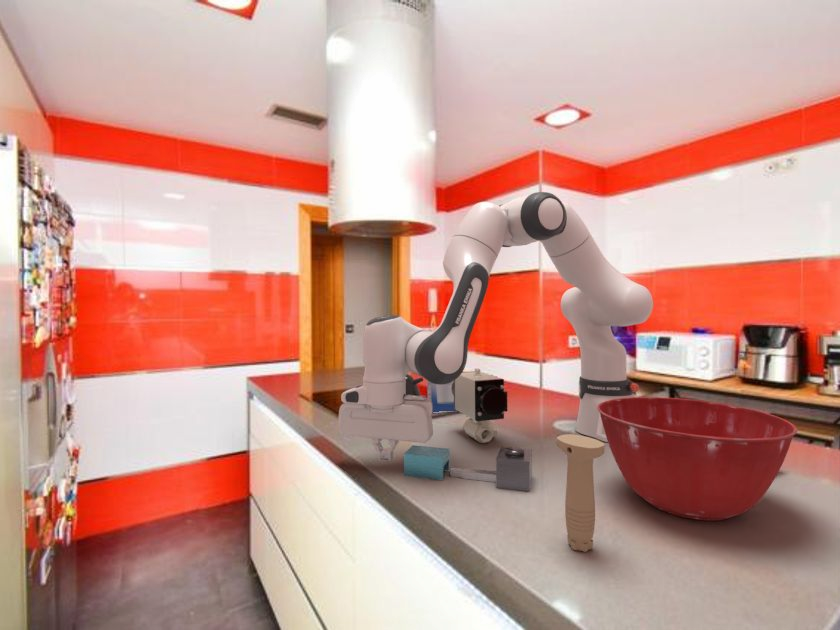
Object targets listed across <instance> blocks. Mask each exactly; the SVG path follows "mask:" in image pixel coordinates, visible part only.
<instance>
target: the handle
mask: <svg viewBox="0 0 840 630" xmlns="http://www.w3.org/2000/svg"><path fill="white" fill-rule="evenodd" d="M556 446H557V448H558V449H559V450H560V451H561V452H563V453H564V454H565V455H566V457H567V467H566V469H567V470H566V487H565V499H564V501H565V502H564V504H565V505H564V508H565V509H564V510H565V513H564V514H565V516H564V517H565V525H566V526H565V527H566V532H567V534H566V538H567V543H568V545H570V547H571V549H572V550H573V551H580V552H584V553H586V552H588V551H589V550H592V549H593V546H594V539H593V538H594V534H595V527H596V526H595V524H596V501H595V499H596V498H595V482H594V459H598V458H600V457H601V456H603V455H604V454H605V443H604V442H603V441H601V440H599V439H597V438H594V437H590V436H586V435H585V436H584V435H579V434H572V433H569V434H561V435H559V436H557V437H556Z"/></svg>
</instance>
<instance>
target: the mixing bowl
mask: <svg viewBox="0 0 840 630" xmlns="http://www.w3.org/2000/svg"><path fill="white" fill-rule="evenodd" d="M597 409H598V411H599V412H600V415H601V420H602V424H603V427H604V430H605V434H606V437H607V440H608V442H607V443H608V446H609V448H610V451H611V454H612V456H613V458H614V460H615V462H616V465H617V467H618V469H619V471H620V472H621V474H622V477H623V478H624V480H625V481H626V483H627V484H628V485H629V487H630V488H631V489H632V491H634V492H635V493H636V494H637V495H638V496H639V497H641V498H642V499H644V501H646V503H648V504H649V505H651V506H653V507H654V508H656V509H658V510H661V511H663V512H666V513H669V514H670V515H671V514H672V515H675V516H678V517H681V518H686V519H693V520H700V521H723V520H727V519H730V518H732V517H735V516H739V515H742V514H744V513H746V512H748V511H749V510H751V509H752V508H753V507H755V506H756V505H757V504H758V503H759V501H760V500H761V499H762V498H763V497H764V495H765V494H766V493H767V491H768V490H769V489H770V487H771V486H772V484H773V482H774V481H775V480H776V478H777V475H779V473H780V472H779V471H780V470H781V467H782V466H783V464H784V462H785V459H786V457H787V454H788V451H789V448H790V447H791V444H792V443H791V442H792V440H793V437H794V436H795V435H797V433H798V428H797V427H796V425H795V424H794V423H792V422H790V421H789V420H786V419H784V418H782V417H779V416H777V415H773V414H770V413H767V412H764V411H760V410H756V409H752V408H748V407H743V406H738V405H734V404H727V403H721V402H714V401H706V400H700V399H699V400H698V399H688V398H679V397H678V398H677V397H659V396H657V397H656V396H655V397H654V396H642V397H641V396H638V397H629V398H618V399H612V400H607V401H604V402H601V403H600V404H599V405H598V406H597Z"/></svg>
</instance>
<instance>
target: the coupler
mask: <svg viewBox="0 0 840 630" xmlns="http://www.w3.org/2000/svg"><path fill="white" fill-rule="evenodd" d="M495 461H496V462H495V464H496V465H495V468H496V469H495V470H486V469H479V468H478V469H477V468H468V467H467V468H466V467H465V468H461V467H460V468H459V467H451V468H450V470H449V471H450V472H449V473H450V477H453V478H454V477H455V478H462V479H466V480H474V481H482V482H483V481H484V482H489V483H490V482H493V483H495V484H496V485H495V486H496V487H495V489H503V490H511V491H521V492H527V493H528V492H531V485H532V478H533V449H531V448H523V447H518V446H507V447H506V446H501V447H500V448H499V451H498V454H497V455H496V458H495Z"/></svg>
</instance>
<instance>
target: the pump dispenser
mask: <svg viewBox="0 0 840 630" xmlns="http://www.w3.org/2000/svg"><path fill="white" fill-rule="evenodd" d="M423 381H424V378H423V377H422V376H420V377H418V378H415V379H414V377H413V376H412V375H410V373H408V374H406V395H415V396H419V395H421V392H420V389H419V387H418V384H420V383H422V382H423Z"/></svg>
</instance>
